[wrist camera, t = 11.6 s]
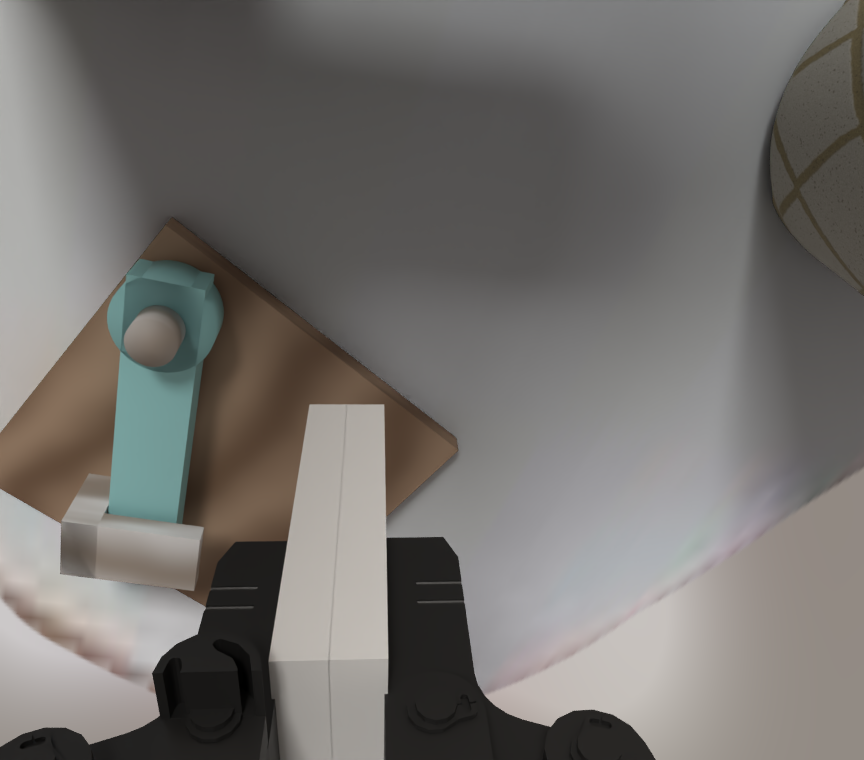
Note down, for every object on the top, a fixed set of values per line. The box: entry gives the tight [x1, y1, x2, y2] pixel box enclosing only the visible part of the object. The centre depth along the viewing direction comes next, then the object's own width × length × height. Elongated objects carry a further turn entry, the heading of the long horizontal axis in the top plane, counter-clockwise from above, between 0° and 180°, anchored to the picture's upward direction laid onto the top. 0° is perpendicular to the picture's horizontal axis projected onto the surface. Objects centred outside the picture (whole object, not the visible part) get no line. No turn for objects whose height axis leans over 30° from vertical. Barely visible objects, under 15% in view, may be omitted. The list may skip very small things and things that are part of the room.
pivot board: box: [0, 217, 458, 606], centre depth 47 cm, size 22×21×7 cm
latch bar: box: [107, 259, 224, 524], centre depth 45 cm, size 20×6×2 cm, turn 166°
